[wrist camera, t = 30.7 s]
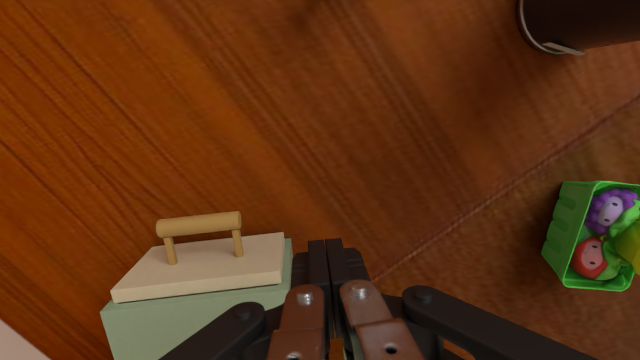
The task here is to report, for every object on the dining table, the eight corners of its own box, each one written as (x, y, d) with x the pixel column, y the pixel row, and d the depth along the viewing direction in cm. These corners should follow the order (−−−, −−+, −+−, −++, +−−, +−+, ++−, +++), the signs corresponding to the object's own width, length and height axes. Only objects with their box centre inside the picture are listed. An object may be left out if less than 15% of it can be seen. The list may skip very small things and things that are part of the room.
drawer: (142, 207, 32) (95, 241, 25) (278, 192, 33) (273, 221, 25) (184, 376, 38) (155, 447, 30) (300, 361, 38) (301, 426, 31)
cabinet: (152, 253, 35) (99, 312, 25) (290, 237, 35) (288, 289, 26) (185, 386, 39) (150, 478, 30) (307, 370, 40) (310, 455, 30)
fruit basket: (555, 168, 35) (669, 200, 25) (627, 176, 36) (770, 211, 25) (526, 262, 38) (618, 329, 27) (594, 268, 39) (710, 334, 28)
